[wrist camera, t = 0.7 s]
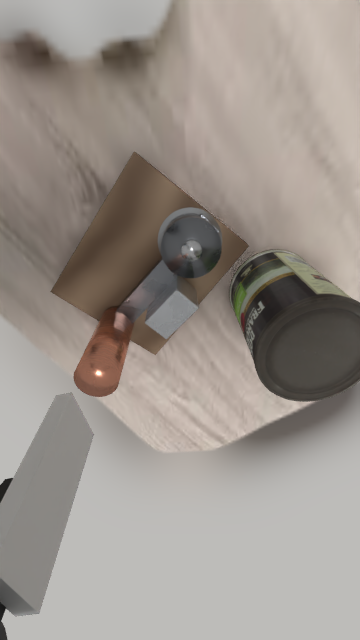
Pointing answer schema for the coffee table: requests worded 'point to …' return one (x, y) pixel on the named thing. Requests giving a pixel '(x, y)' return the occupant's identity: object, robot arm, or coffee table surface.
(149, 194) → the board
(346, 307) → the coffee can
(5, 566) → the robot arm
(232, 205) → the coffee table surface
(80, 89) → the coffee table surface
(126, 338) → the lever
